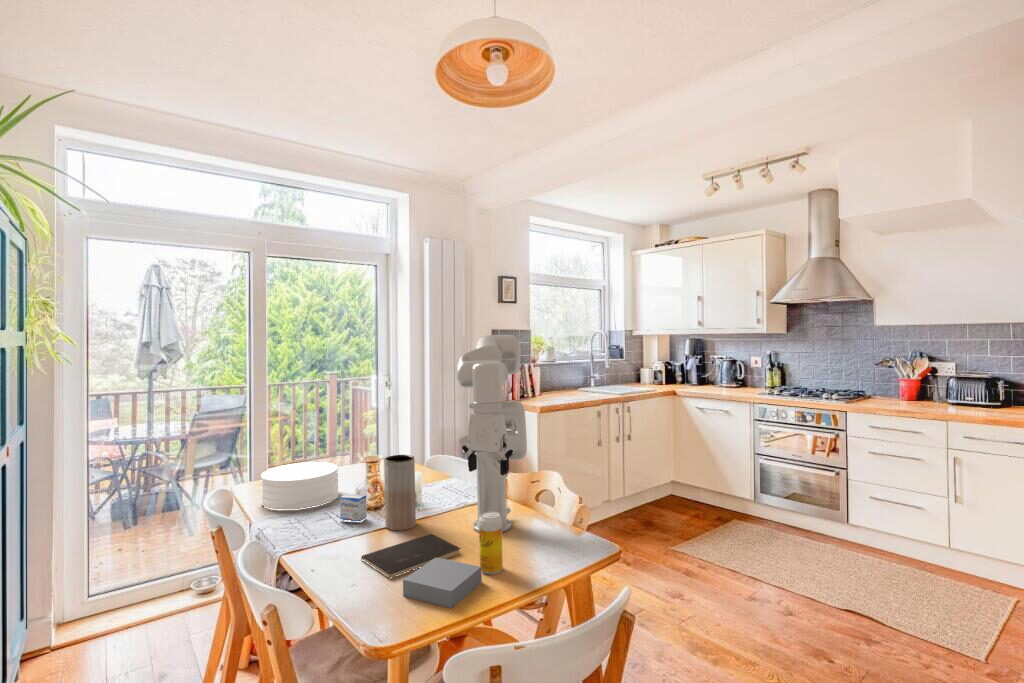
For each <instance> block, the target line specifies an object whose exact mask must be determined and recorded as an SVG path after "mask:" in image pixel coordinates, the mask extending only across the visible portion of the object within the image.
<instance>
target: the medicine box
mask: <svg viewBox="0 0 1024 683" xmlns="http://www.w3.org/2000/svg"><path fill="white" fill-rule="evenodd" d="M367 512H368V509H367V495H364V494H350V493H346V494H344V495H342V496H340V497H339V520H340V519H343V520H351V521H361V520H363V519H365V518H366V517H367V515H368V514H367ZM367 518H368V517H367Z"/></svg>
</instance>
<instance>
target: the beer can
mask: <svg viewBox="0 0 1024 683" xmlns="http://www.w3.org/2000/svg"><path fill="white" fill-rule="evenodd" d="M478 533H479V536H478V538H479V539H478V540H479V541H478V542H479V566H480V567H481V573H483V574H485V575H488V574H489V575H490V576H491V574H493V575H496V573H497V574H499V573H500V572H501V571H502V570H503V532H502V518H501V516H500V514H499V513H498V512H484V513H482V514H481V515H480V518H479V532H478ZM498 572H499V573H498Z"/></svg>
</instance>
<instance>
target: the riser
mask: <svg viewBox="0 0 1024 683" xmlns="http://www.w3.org/2000/svg"><path fill="white" fill-rule="evenodd" d="M482 579H483V578H482V570H481V567H480V565H474V564H469V563H465V562H459V561H456V560H450V559H447V558H446V559H442V558H437V557H436V558H434V559H433V560H431V561H430V562H428V563H427V564H425V565H424V566H422V567H421V568H419V569H416V570H414V571H413V572H412V573H411V574H409V575H407V576H406V577H405V578H403V579H402V595H403V597H406V598H409V599H414V600H418V601H421V602H425V603H429V604H433V605H437V606H441V607H444V608H449V609H453V608H454V607H455V606H456V605H458V603H459V602H461V601H462V600H463V599H464V598H465V597H467V596H468V595H469V594H470V593H471V592H472V591H473V590H475V589H476V588H477V587H478V586H479V585H480V584H481V583H482V582H483V581H482Z"/></svg>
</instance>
